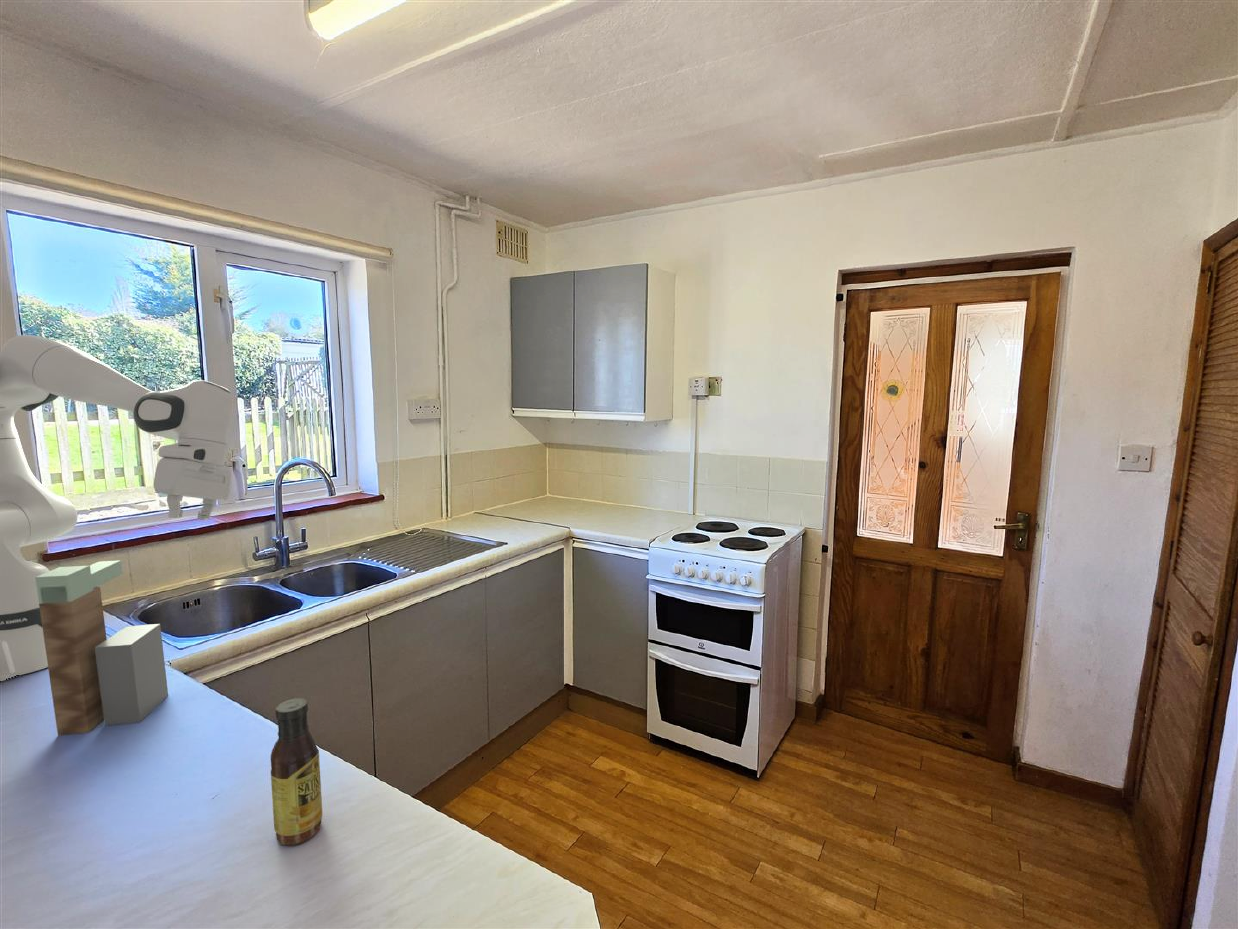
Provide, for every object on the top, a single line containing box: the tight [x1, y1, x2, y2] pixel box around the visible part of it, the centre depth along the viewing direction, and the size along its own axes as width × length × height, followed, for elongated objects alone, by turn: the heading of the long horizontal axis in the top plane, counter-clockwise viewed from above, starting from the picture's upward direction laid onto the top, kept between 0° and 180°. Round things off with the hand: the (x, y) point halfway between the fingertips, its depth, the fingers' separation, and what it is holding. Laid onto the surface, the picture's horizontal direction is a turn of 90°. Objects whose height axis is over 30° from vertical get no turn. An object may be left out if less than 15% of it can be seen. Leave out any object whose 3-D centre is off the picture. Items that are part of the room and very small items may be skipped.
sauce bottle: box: [270, 697, 323, 846], centre depth 84 cm, size 7×6×20 cm
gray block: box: [95, 623, 169, 726], centre depth 117 cm, size 6×10×16 cm, turn 12°
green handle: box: [35, 560, 123, 604], centre depth 113 cm, size 5×16×5 cm, turn 12°
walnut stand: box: [39, 586, 108, 736], centre depth 112 cm, size 5×8×26 cm, turn 12°
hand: (189, 518), depth 124 cm, fingers open, 8 cm apart
